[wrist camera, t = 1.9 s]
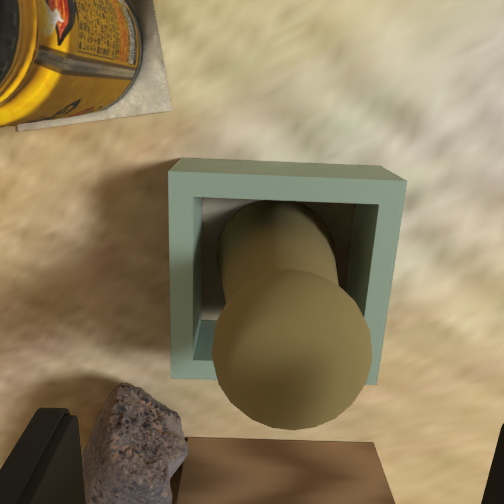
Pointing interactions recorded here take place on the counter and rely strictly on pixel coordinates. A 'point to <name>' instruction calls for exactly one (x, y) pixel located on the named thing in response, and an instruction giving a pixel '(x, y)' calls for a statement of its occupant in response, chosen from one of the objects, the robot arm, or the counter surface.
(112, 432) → the perforated stone tool
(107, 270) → the counter surface
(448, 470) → the counter surface
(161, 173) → the counter surface
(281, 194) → the shaker holder
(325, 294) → the tan rounded piece
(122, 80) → the condiment
